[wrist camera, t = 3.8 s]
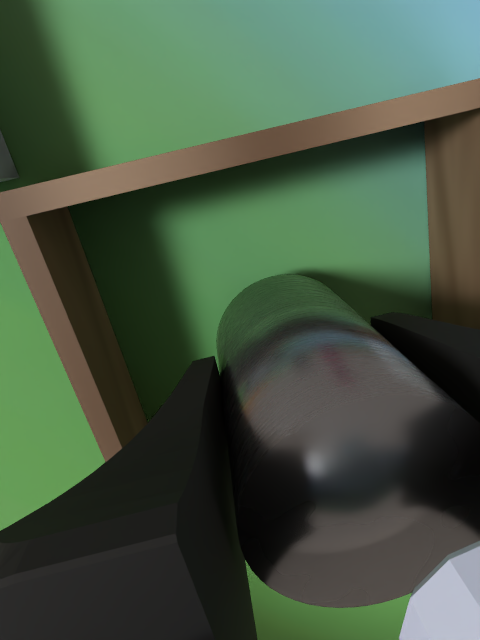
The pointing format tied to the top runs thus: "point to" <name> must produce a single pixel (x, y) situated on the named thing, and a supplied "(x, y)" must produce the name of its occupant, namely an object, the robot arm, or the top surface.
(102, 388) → the walnut box
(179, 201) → the top surface
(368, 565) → the metal tin
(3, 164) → the slate tray
